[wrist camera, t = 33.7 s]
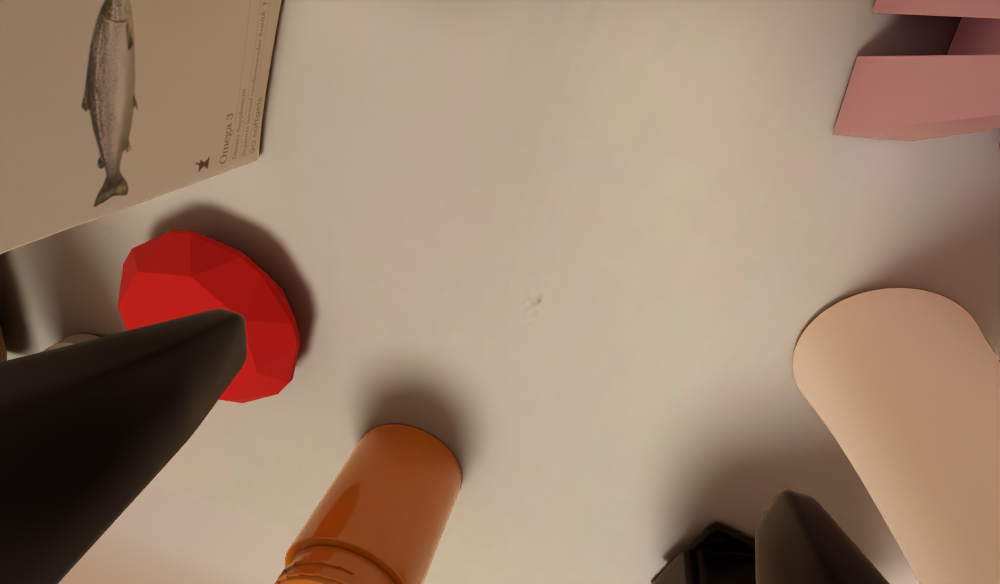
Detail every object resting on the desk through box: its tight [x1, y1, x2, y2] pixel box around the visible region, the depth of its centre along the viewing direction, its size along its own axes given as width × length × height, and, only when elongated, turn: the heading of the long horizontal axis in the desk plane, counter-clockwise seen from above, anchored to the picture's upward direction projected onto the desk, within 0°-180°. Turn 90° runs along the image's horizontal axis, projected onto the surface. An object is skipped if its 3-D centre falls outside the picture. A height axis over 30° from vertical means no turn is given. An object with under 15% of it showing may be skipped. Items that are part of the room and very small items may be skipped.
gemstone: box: [117, 230, 301, 403], centre depth 25 cm, size 9×9×3 cm
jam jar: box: [275, 424, 462, 584], centre depth 25 cm, size 6×6×9 cm
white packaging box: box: [0, 0, 282, 254], centre depth 15 cm, size 7×7×13 cm
